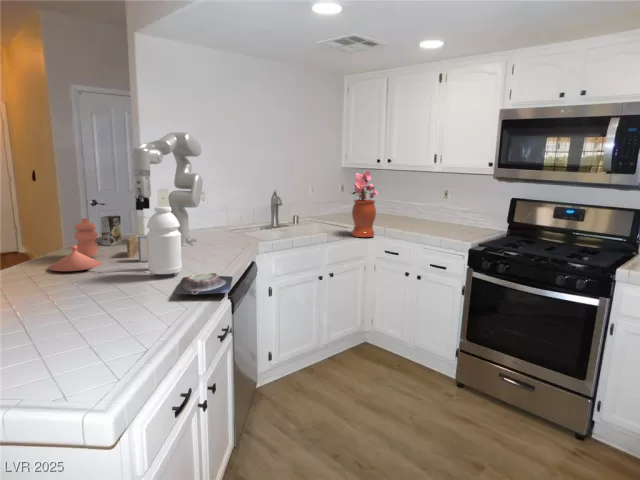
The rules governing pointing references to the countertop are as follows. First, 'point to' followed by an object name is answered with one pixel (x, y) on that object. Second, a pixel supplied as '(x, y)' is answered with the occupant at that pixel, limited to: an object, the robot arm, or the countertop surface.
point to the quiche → (204, 284)
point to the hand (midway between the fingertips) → (142, 209)
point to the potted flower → (363, 207)
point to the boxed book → (143, 248)
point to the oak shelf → (132, 246)
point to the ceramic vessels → (80, 250)
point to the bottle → (164, 242)
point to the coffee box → (111, 230)
